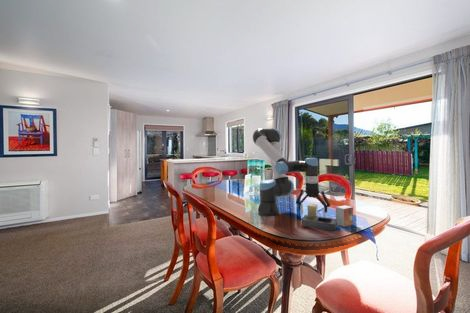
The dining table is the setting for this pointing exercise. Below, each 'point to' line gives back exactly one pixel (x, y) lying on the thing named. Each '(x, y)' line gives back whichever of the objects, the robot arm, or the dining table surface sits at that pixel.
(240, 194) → the dining table surface
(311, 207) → the beige square peg
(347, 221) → the small box
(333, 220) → the grey square hole block
